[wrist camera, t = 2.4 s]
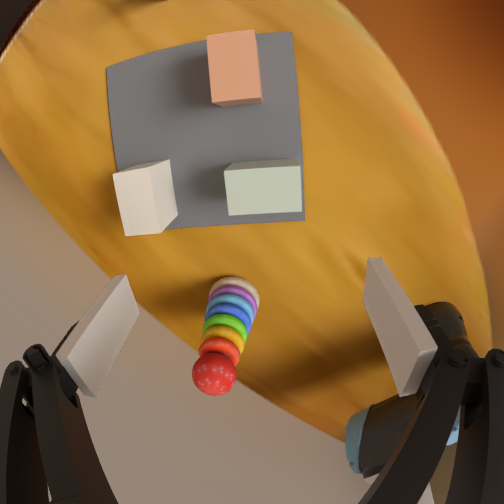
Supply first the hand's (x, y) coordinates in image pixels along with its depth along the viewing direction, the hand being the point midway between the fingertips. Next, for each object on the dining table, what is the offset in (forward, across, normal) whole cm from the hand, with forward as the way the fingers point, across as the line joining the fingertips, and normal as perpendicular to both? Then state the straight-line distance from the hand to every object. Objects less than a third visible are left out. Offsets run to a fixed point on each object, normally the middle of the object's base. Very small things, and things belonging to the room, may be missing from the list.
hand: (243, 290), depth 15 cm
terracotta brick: (+24, +1, -15) cm, 29 cm away
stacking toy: (+24, +5, +17) cm, 30 cm away
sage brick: (+24, -1, -1) cm, 24 cm away
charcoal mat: (+25, +7, -8) cm, 27 cm away
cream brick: (+24, +14, -1) cm, 28 cm away
